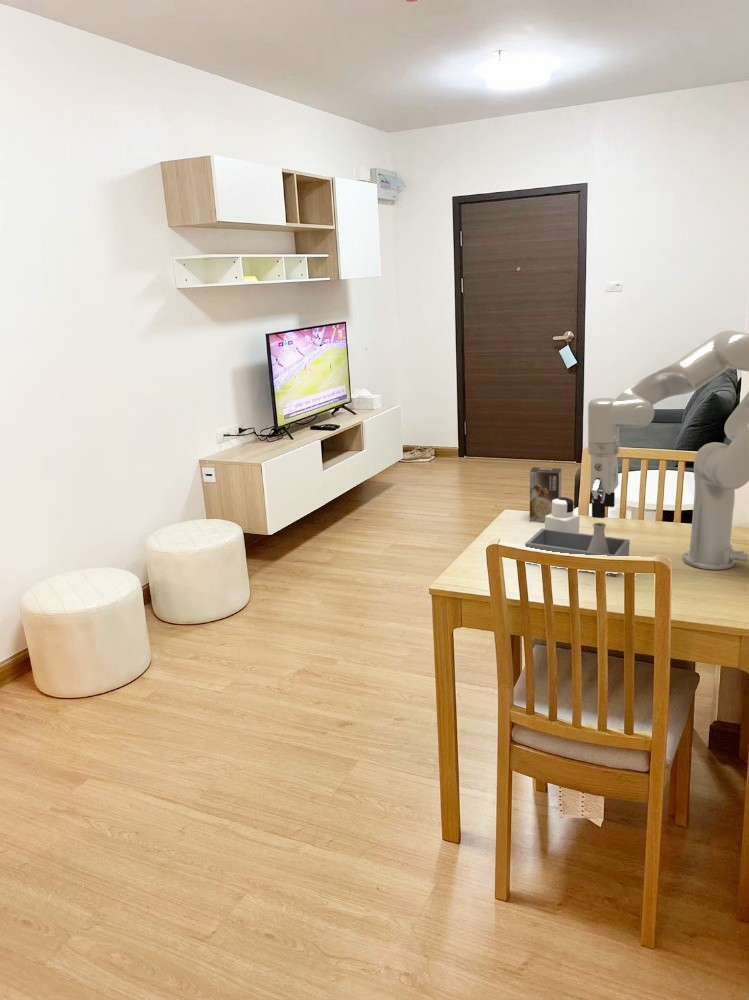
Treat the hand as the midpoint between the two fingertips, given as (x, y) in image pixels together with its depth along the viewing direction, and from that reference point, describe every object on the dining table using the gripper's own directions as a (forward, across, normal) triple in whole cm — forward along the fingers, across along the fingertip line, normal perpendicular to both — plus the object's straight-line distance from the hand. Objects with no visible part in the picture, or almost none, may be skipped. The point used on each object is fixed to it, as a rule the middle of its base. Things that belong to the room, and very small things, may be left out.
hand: (603, 511), depth 202 cm
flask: (+14, -1, +1) cm, 14 cm away
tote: (+14, -1, +7) cm, 16 cm away
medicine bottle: (+14, +15, +16) cm, 26 cm away
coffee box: (+14, +31, +26) cm, 43 cm away
